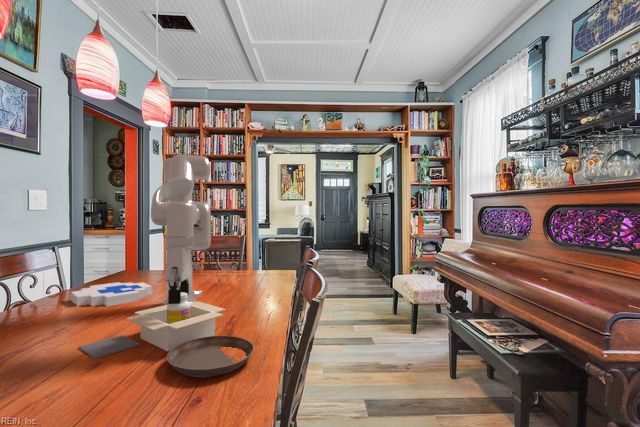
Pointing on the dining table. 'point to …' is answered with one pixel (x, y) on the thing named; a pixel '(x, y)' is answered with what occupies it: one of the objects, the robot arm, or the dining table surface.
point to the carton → (176, 325)
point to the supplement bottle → (179, 310)
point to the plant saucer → (207, 356)
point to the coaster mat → (108, 346)
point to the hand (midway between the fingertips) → (179, 299)
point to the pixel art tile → (111, 294)
